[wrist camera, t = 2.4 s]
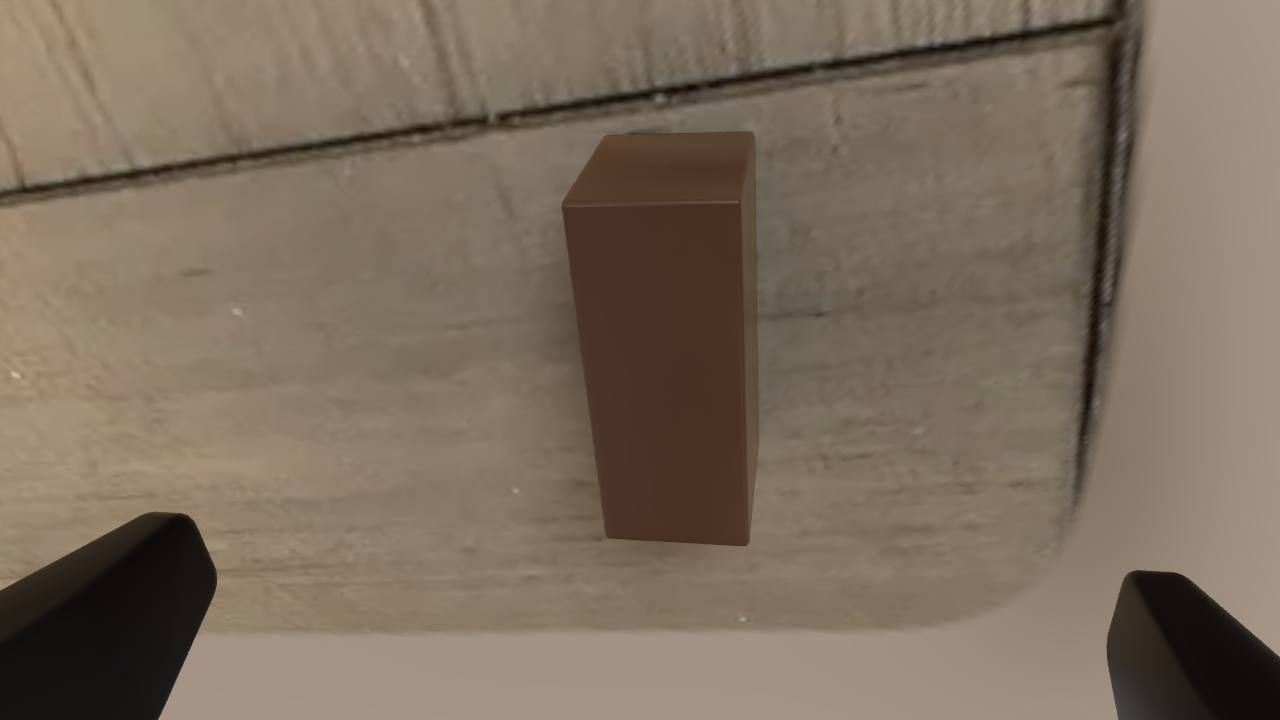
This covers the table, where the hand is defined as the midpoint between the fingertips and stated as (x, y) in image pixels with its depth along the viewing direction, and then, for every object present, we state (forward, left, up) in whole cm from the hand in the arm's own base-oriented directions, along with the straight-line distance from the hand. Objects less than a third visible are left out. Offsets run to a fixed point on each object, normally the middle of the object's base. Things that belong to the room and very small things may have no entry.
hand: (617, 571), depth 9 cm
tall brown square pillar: (0, 0, -5) cm, 5 cm away
